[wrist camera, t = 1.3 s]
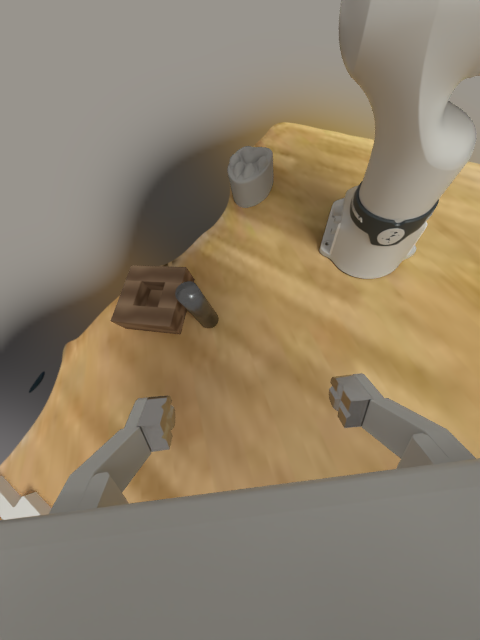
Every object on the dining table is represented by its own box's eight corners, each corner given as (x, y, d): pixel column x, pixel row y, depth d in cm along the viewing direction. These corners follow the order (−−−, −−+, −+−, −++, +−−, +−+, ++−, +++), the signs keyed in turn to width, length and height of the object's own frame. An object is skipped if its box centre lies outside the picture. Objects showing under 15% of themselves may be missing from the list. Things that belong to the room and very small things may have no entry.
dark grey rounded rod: (203, 310, 49) (178, 280, 37) (220, 312, 48) (200, 281, 36) (199, 327, 48) (172, 301, 36) (216, 329, 47) (195, 303, 35)
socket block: (143, 276, 56) (131, 265, 51) (194, 279, 53) (186, 267, 48) (125, 328, 51) (110, 320, 46) (180, 334, 48) (169, 326, 43)
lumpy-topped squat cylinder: (277, 175, 61) (276, 141, 53) (261, 210, 57) (258, 179, 49) (243, 172, 64) (237, 138, 56) (225, 204, 60) (217, 174, 52)
